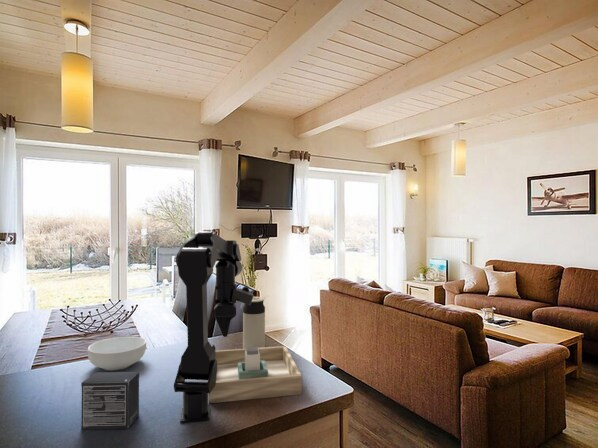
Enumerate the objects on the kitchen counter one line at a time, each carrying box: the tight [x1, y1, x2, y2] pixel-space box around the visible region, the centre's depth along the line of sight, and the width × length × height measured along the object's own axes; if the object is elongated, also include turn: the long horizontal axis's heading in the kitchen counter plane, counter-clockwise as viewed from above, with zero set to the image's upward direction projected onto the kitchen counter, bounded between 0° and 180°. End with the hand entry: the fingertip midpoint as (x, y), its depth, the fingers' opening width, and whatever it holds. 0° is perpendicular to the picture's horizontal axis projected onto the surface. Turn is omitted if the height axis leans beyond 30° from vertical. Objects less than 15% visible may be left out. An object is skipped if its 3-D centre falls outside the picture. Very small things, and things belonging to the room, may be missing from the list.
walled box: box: [208, 345, 303, 404], centre depth 106 cm, size 24×24×5 cm
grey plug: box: [245, 347, 260, 371], centre depth 106 cm, size 4×4×8 cm
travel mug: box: [242, 296, 266, 349], centre depth 133 cm, size 8×8×18 cm
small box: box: [80, 371, 140, 431], centre depth 83 cm, size 11×6×10 cm, turn 92°
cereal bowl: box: [87, 336, 147, 372], centre depth 116 cm, size 17×17×7 cm
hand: (225, 331), depth 111 cm, fingers open, 9 cm apart
